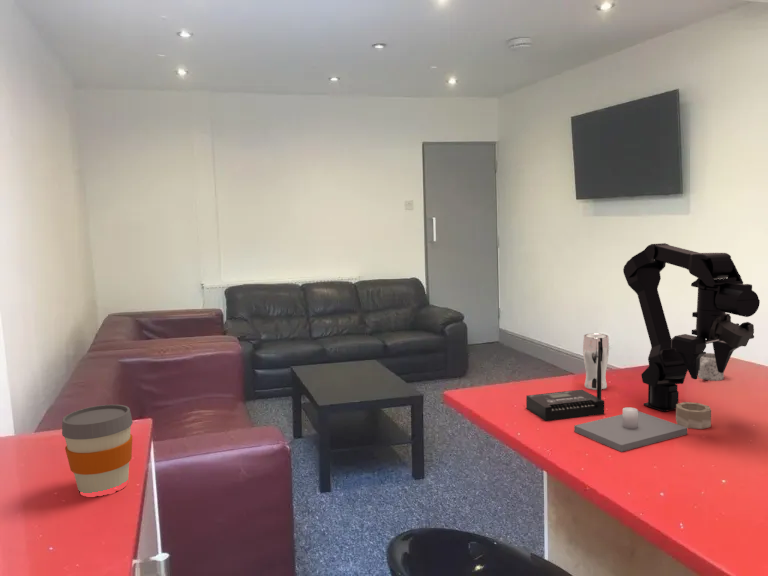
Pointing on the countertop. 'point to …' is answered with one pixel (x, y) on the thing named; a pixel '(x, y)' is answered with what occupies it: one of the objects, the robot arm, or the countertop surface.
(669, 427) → the post board
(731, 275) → the robot arm
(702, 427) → the ring
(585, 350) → the beer glass
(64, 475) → the countertop surface
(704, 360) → the mug
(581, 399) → the wireless controller
